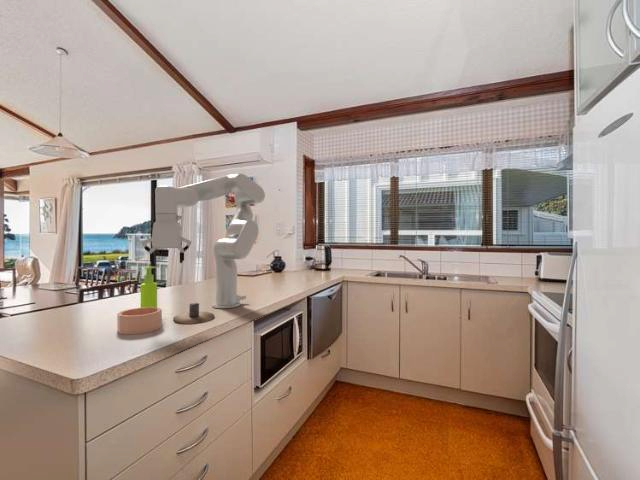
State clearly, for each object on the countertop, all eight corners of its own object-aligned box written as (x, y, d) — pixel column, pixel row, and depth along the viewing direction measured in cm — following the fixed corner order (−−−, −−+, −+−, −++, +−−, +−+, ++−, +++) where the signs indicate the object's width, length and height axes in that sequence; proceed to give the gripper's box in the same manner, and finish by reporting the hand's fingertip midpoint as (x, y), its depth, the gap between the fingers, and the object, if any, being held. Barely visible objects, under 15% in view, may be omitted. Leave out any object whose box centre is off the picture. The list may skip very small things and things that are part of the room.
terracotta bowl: (154, 321, 117) (154, 305, 117) (166, 328, 108) (166, 311, 108) (114, 328, 108) (114, 311, 108) (123, 337, 99) (123, 318, 99)
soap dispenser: (161, 313, 130) (161, 266, 130) (151, 317, 123) (151, 267, 123) (148, 312, 130) (148, 265, 130) (137, 317, 123) (137, 267, 123)
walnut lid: (204, 312, 132) (204, 298, 132) (220, 319, 121) (220, 304, 121) (167, 318, 122) (167, 303, 122) (181, 327, 111) (181, 310, 111)
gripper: (191, 219, 124) (192, 261, 125) (143, 219, 118) (144, 263, 119) (190, 218, 117) (191, 263, 118) (138, 218, 111) (139, 265, 112)
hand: (167, 263), depth 118 cm, fingers open, 9 cm apart
